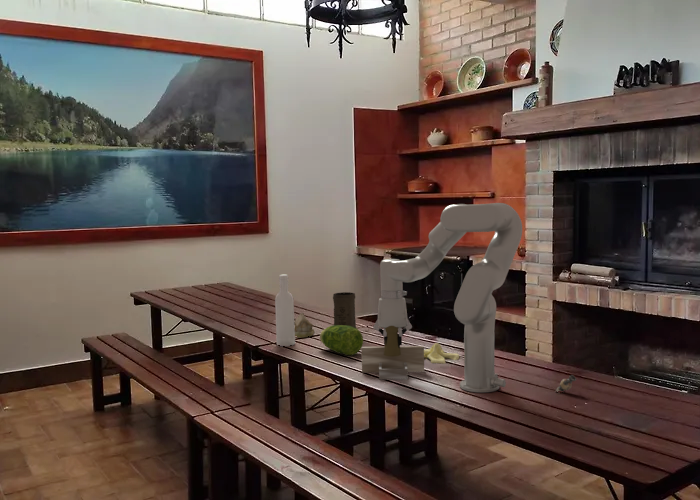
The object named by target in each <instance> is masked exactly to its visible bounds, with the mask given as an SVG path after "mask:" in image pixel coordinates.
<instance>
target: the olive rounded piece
mask: <svg viewBox="0 0 700 500" xmlns="http://www.w3.org/2000/svg"><path fill="white" fill-rule="evenodd" d="M385 330H386V332H387V336H386V337H388V338H387V345H386V342H385V345H384V346H383V347H384V355H385V356H390V357H394V356H400V355H401V351H400V348H398V333H399V332H398V328H397V327H395V326H388V327H387V328H385Z"/></svg>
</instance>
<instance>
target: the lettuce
mask: <svg viewBox="0 0 700 500" xmlns="http://www.w3.org/2000/svg"><path fill="white" fill-rule="evenodd" d="M319 340H320V342H321V343H322V344H323V345H324V346H325V347H326V348H328V349H329V350H331V351H334V352H336V353H338V354H340V355H341V354H342V355H345V356H349V357H351V356H354V355H356V354H358V353H359V352H360V351H361V350H362V347H363V344H364V337H363V334H362V333H361V331H360V330H359V329H358V328H357V327H356V328H354V327H352V326H346V325H334V324H332V325H329V326H328V327H326V328H324V329H323V330H322V331H321V332H320V334H319Z"/></svg>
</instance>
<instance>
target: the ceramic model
mask: <svg viewBox="0 0 700 500" xmlns="http://www.w3.org/2000/svg"><path fill="white" fill-rule="evenodd" d="M313 327H314V324H312V323H311V321H310V320H309V319H308V318H307V317H306V315H305V313H304V312H301V313H299V314H298V315H297V317H296V318H295V319H294V328H295V336H297V337H296V338H308V336H309V337H312V336H314V333H315V329H313Z"/></svg>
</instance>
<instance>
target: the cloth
mask: <svg viewBox="0 0 700 500" xmlns="http://www.w3.org/2000/svg"><path fill="white" fill-rule="evenodd" d="M460 357H461V356H460V354H459V353H450V352H449V353H448V352H445V350H444V349H443V347H442V345H441V344H440V343H437V342H436V343H434V344H432V346H430V348H425V349H424V359H425V358H427V359H429V360H430V363H431V364H442V365H443V364H444V365H445V364H447V363H446V359H450V360H453V361H457V360H459V359H460Z"/></svg>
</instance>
